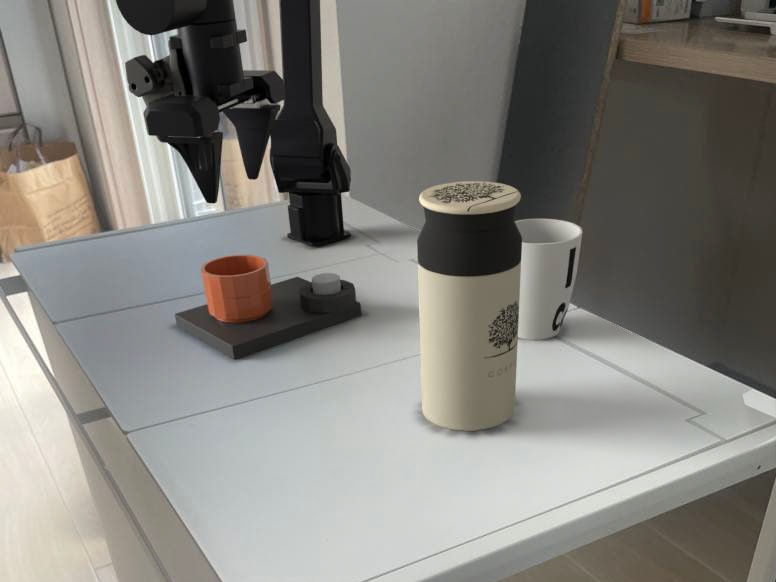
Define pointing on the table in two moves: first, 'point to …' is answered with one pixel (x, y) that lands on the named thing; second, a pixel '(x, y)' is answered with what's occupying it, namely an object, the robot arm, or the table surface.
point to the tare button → (326, 284)
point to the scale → (274, 318)
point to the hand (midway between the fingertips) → (233, 190)
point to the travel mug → (469, 303)
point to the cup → (546, 275)
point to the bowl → (237, 288)
